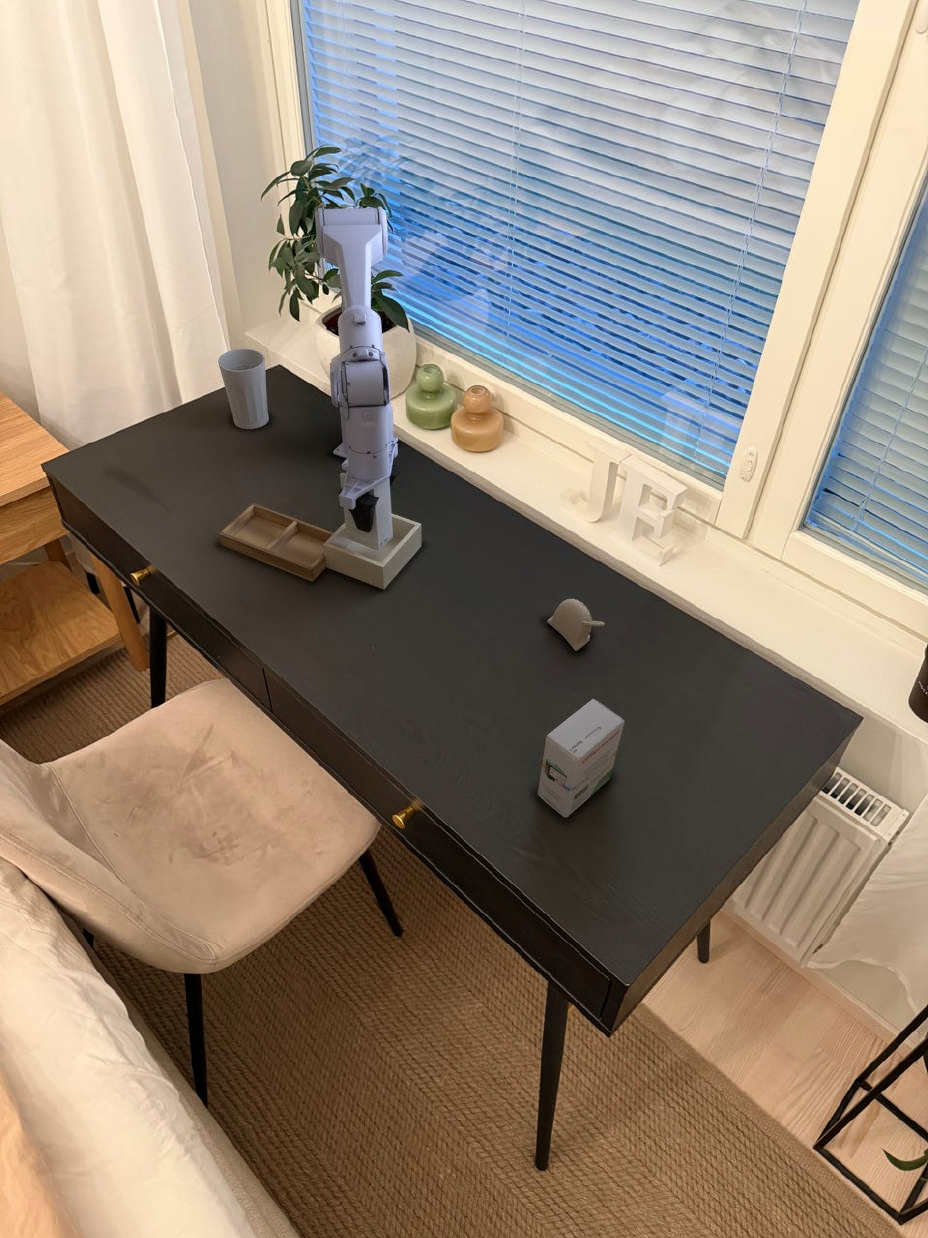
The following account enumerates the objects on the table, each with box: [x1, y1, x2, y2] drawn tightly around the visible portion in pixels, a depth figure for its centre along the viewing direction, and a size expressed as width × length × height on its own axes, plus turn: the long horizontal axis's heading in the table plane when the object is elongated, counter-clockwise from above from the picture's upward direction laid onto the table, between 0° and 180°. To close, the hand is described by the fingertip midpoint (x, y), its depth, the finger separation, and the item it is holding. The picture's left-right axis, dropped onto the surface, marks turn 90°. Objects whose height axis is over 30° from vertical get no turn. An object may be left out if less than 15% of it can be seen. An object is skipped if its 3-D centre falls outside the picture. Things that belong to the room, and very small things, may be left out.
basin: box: [323, 513, 422, 590], centre depth 136 cm, size 11×10×4 cm
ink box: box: [537, 698, 626, 819], centre depth 105 cm, size 8×5×12 cm, turn 134°
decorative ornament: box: [546, 598, 606, 652], centre depth 125 cm, size 4×8×5 cm, turn 32°
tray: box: [218, 502, 335, 583], centre depth 138 cm, size 9×17×2 cm, turn 63°
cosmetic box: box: [339, 470, 393, 551], centre depth 131 cm, size 6×4×12 cm
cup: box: [217, 348, 270, 430], centre depth 159 cm, size 8×8×12 cm
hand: (372, 519), depth 133 cm, fingers closed on cosmetic box, 4 cm apart
